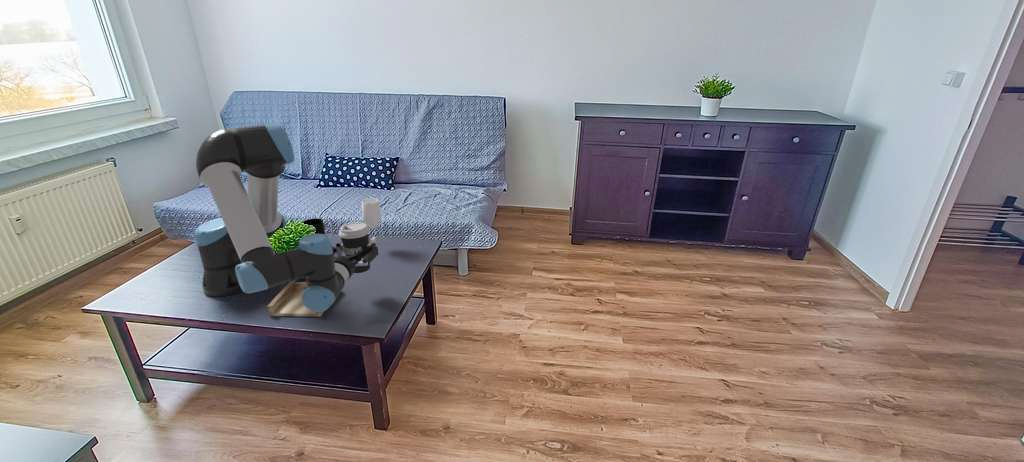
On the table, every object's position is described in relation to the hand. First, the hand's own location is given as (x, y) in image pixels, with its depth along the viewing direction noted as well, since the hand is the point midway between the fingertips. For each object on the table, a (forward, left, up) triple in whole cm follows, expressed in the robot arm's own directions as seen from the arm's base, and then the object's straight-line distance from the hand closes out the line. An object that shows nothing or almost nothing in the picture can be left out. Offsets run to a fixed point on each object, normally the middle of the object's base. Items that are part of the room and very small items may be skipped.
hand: (361, 240), depth 153 cm
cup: (-6, +30, -18) cm, 36 cm away
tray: (-17, -11, -18) cm, 27 cm away
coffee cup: (0, -5, -8) cm, 10 cm away
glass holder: (-25, +24, -18) cm, 39 cm away
